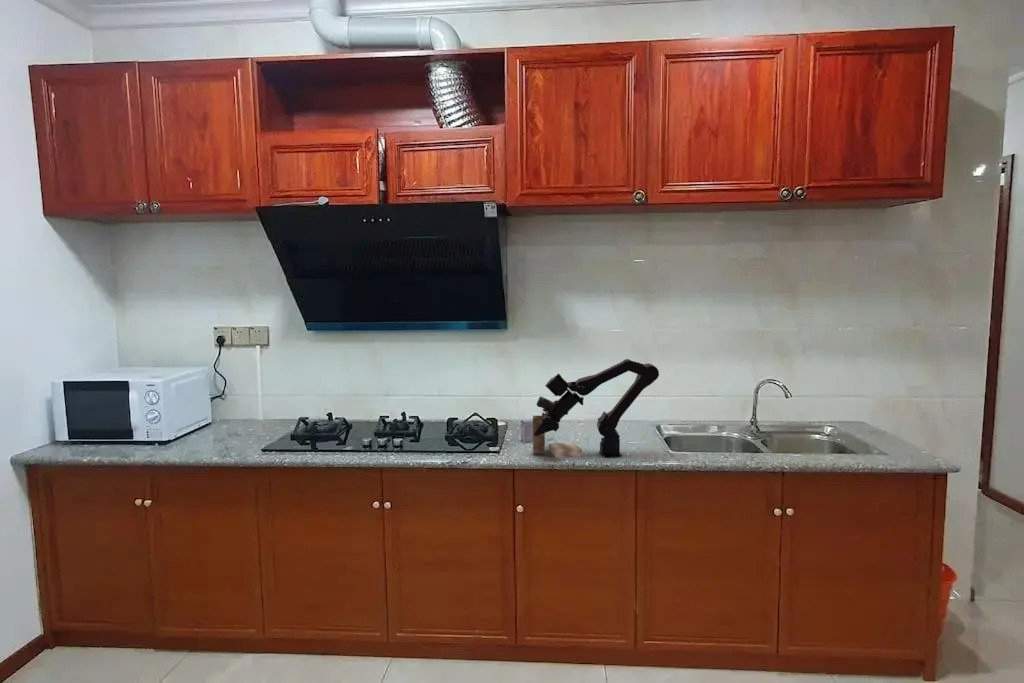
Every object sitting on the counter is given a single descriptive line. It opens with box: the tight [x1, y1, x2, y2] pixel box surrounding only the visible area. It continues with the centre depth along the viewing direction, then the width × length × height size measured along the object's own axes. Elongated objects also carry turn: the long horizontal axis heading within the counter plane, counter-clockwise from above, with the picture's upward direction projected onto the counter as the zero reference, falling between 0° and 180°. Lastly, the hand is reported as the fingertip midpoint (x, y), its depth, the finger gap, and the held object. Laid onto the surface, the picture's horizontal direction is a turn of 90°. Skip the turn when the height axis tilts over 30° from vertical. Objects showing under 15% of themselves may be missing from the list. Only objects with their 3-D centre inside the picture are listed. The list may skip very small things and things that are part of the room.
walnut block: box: [532, 415, 546, 453], centre depth 227 cm, size 4×4×13 cm
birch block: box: [548, 441, 582, 459], centre depth 228 cm, size 10×10×3 cm
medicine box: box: [520, 418, 533, 443], centre depth 246 cm, size 8×4×9 cm, turn 111°
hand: (535, 433), depth 227 cm, fingers closed on walnut block, 4 cm apart
